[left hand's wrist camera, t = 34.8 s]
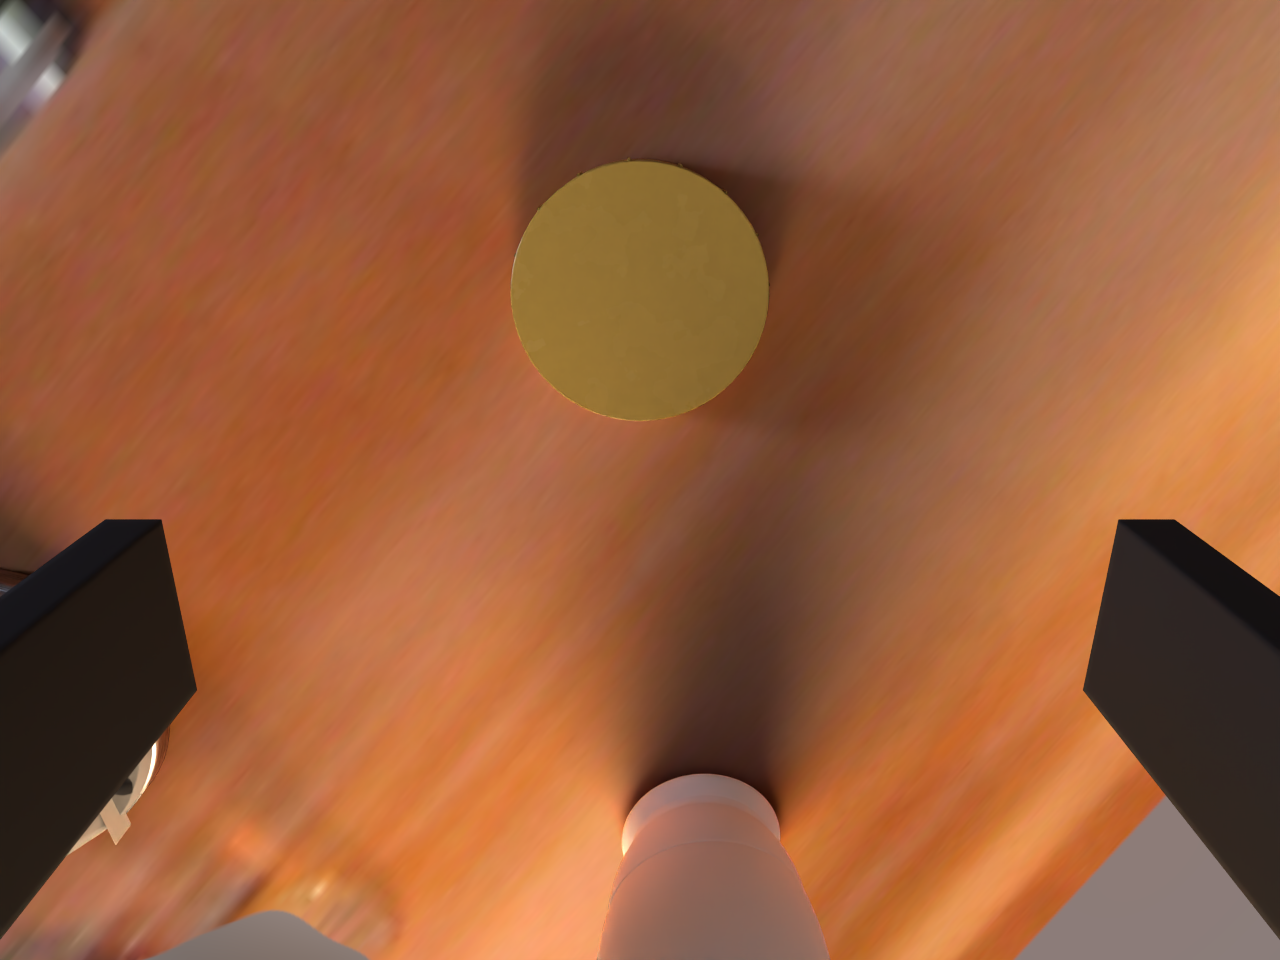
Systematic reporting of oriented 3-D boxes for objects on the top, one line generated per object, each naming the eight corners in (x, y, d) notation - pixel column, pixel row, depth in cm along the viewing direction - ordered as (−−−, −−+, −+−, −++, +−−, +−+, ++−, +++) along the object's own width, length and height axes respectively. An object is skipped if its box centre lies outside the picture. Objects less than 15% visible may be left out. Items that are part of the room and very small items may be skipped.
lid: (477, 334, 39) (467, 347, 37) (589, 108, 36) (585, 107, 33) (684, 444, 41) (687, 463, 38) (808, 239, 37) (819, 246, 35)
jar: (721, 936, 51) (751, 1240, 37) (565, 856, 49) (535, 1147, 35) (838, 810, 48) (919, 1092, 34) (676, 720, 46) (692, 980, 32)
